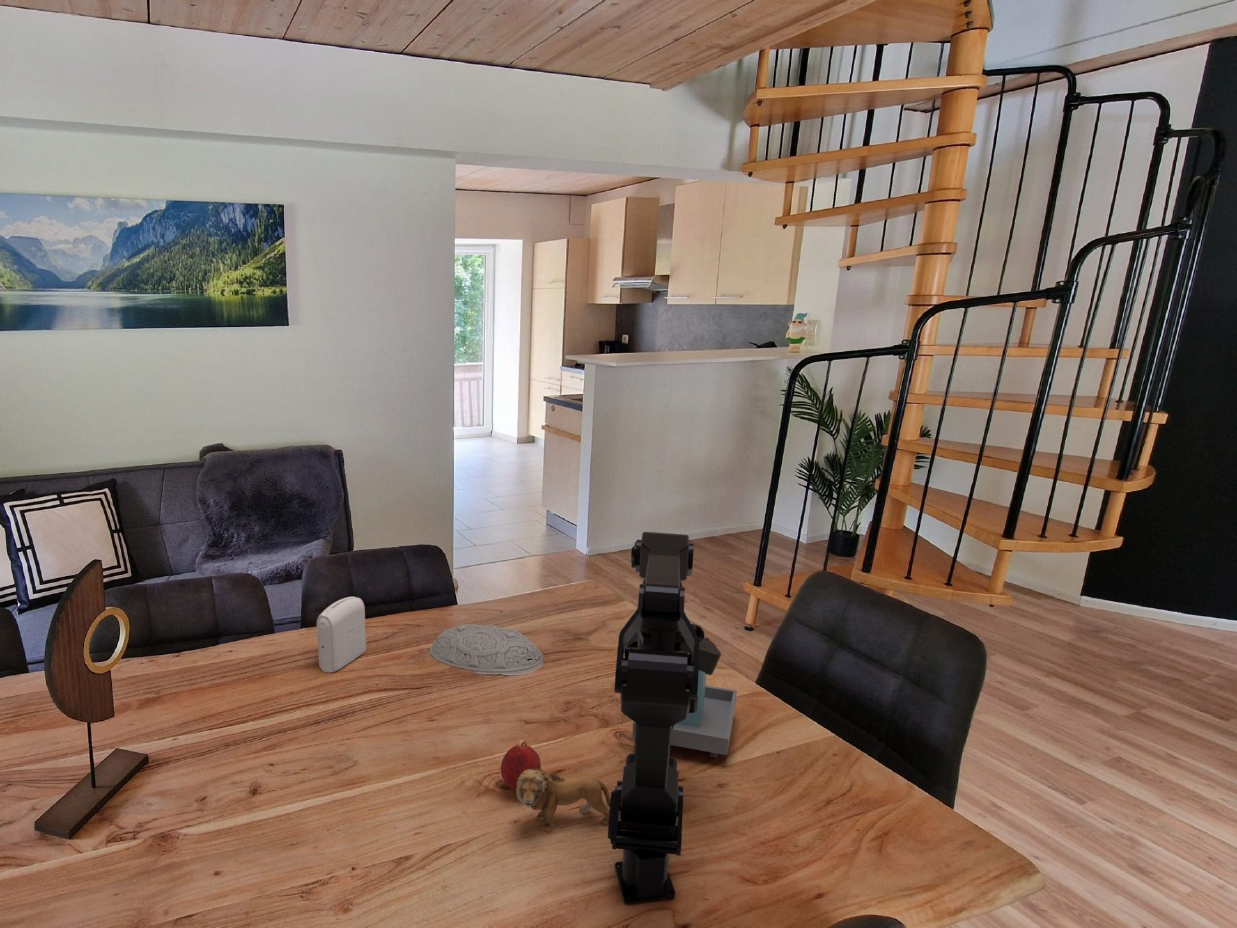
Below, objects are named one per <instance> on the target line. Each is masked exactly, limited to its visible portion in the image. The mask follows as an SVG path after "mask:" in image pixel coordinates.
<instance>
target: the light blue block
mask: <svg viewBox="0 0 1237 928" xmlns="http://www.w3.org/2000/svg"><path fill="white" fill-rule="evenodd" d="M706 681H707V674H705V672H702V671H699V674H698V693H697V697H698V704H697V711H696V712H695V713H689V714H688V717H687V718H686V719H684V720H682V721H681V722H679V723H678V724H684V725H690V726H695V727H700V723H701V719H702V715H703V710H704V697H705V685H707V684H706Z"/></svg>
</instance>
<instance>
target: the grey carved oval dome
mask: <svg viewBox="0 0 1237 928" xmlns="http://www.w3.org/2000/svg"><path fill="white" fill-rule="evenodd" d="M428 653H429V655H430V656H431V657H432V658H433V659H434V660H436V661H438V662H439V663H442V664H444V665H447V666H450V667H453V668H456V669H461V670H466V671H470V672H472V673H475V674H478V675H493V676H494V675H496V676H497V675H504V676H521V675H526V674H530V673H532V672H535V671H537V670H539V669H540V668H541V667H542V666H543V665H544V664H543V663H544V655H543V652H542V651H541V650H540V649H539V647H537V645H536V644H535V643H534V642H533V641H531V639H529V638H528V637H526V636H525V635H524V634H522V633H521V632H519V631H517V630H516V629H513V628H507V627H506V628H505V627H501V626H498V625H484V624H481V625H480V624H475V623H466V624H462V625H458V626H454V627H452V628H449V629H447V630H444V631H442V632H441V633H440V634H439V635H438V637H437V638H436V639H434V641H433V642H432V645H431V646H430V649H429V651H428Z"/></svg>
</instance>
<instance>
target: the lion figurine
mask: <svg viewBox="0 0 1237 928" xmlns="http://www.w3.org/2000/svg"><path fill="white" fill-rule="evenodd" d="M516 784H517V790H515V791H516V792H515V793H516V797H517V799H518V801H519V802H521V803H522V804H523V805H525V806H526V807H527V808H531V809H532V810H533V811H539V812H538V813H537V815H536V818H537V820H538V821H540V820H541V821H542V820H544V819H546V823H545V824H544V825H543V827H542V830H543V831H544V832H546V833H550V832H552V830H553V829H554V825H555V821H554V819H555V817H554V816H555V813H556V810H557V808H558V806H568V805H572V804H575V803H578V802H579V801H581V799H584V800H585V801H586V805H582V806H580V807H579V812H580V813H581V814H587V813H588V812H589V811H590V810H591V809H593V810H595V811H597V812H598V813H600V814H602V815H603V816H604V817H602V818H601V819H600V823H601V824H602V826H607V825H608V824H609V811H610V798H611V794H610V791H609V790H608V788H607V787H608V786H607V785H606V784H605V782H604V781H602V779H600V778H598V777H597V776H596V775H592V774H588V773H585V774H582V775H578V776H574V777H559V776H558V775H557V774H556V773H554V772H551V771H547V770H543V769H542V768H541V769H534V768H533V769H528V770H525V771H524V772H523V773H522V774H521V775H520V776H519V778H518V781H517V783H516ZM602 793H603V794H604V797H605V801H606V803H605V802H604V800H603V796H602ZM606 804H607V805H606Z"/></svg>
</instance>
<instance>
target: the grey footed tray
mask: <svg viewBox="0 0 1237 928" xmlns="http://www.w3.org/2000/svg"><path fill="white" fill-rule="evenodd" d="M737 695H738V690H735V689H730V688H724V687H718V686H712V685H707V684H705V697H704V710H703V715H702V719H701V723H700V727H695V726H690V725H684V724H678V723H677V724H675V725H674V727H673V730H672V733H671V744H670V746H673V747H680V748H686V749H690V750H698V751H702V752H707V753H710V757H711V758H715V759H716V758H719V757H718V755H724V756H728V755H729V754H728V753H729V749H730V741H731V736H732V729H733V722H734V716H735V710H736V705H737ZM635 726H636V723H635V722H634V721H633V720H632V734H631V735H632V737H631V738H632V739H635Z"/></svg>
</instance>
